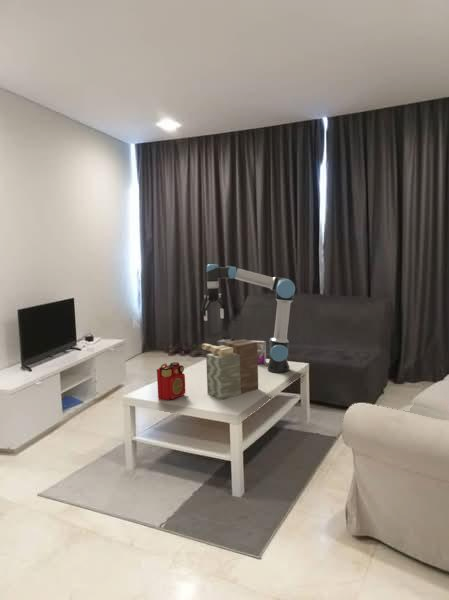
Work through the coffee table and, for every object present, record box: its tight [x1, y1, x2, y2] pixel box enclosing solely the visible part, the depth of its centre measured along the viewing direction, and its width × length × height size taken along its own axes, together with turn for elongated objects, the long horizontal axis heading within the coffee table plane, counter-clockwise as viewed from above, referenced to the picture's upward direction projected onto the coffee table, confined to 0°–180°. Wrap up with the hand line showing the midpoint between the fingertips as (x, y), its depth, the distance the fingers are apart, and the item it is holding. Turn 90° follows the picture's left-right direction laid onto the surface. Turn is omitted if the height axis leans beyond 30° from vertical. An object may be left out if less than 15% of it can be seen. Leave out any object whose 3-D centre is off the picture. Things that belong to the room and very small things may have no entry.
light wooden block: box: [201, 342, 233, 357], centre depth 273 cm, size 24×8×4 cm, turn 38°
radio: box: [156, 361, 186, 401], centre depth 268 cm, size 16×10×20 cm, turn 148°
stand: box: [205, 338, 259, 400], centre depth 273 cm, size 14×28×29 cm, turn 128°
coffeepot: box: [216, 336, 236, 346], centre depth 352 cm, size 15×9×18 cm, turn 107°
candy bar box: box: [253, 340, 267, 365], centre depth 339 cm, size 11×5×16 cm, turn 71°
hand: (214, 319), depth 305 cm, fingers open, 13 cm apart
